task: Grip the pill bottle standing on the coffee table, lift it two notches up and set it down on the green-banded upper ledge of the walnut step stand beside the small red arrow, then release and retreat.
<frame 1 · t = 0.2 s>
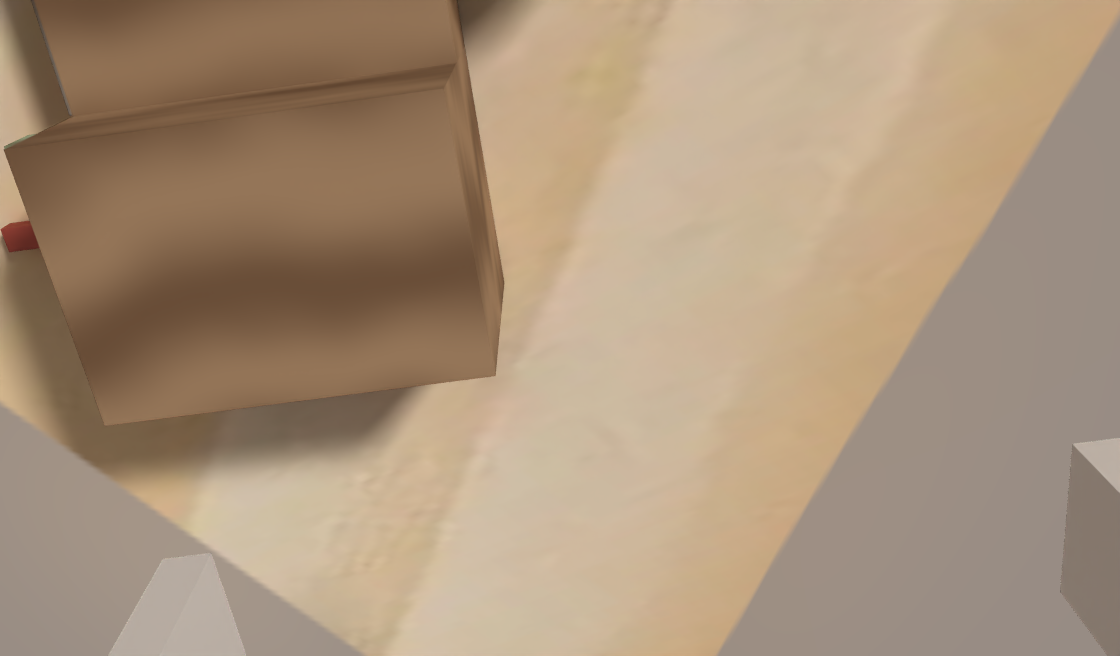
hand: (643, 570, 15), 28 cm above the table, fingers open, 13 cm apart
step stand: (289, 71, 39), on the table
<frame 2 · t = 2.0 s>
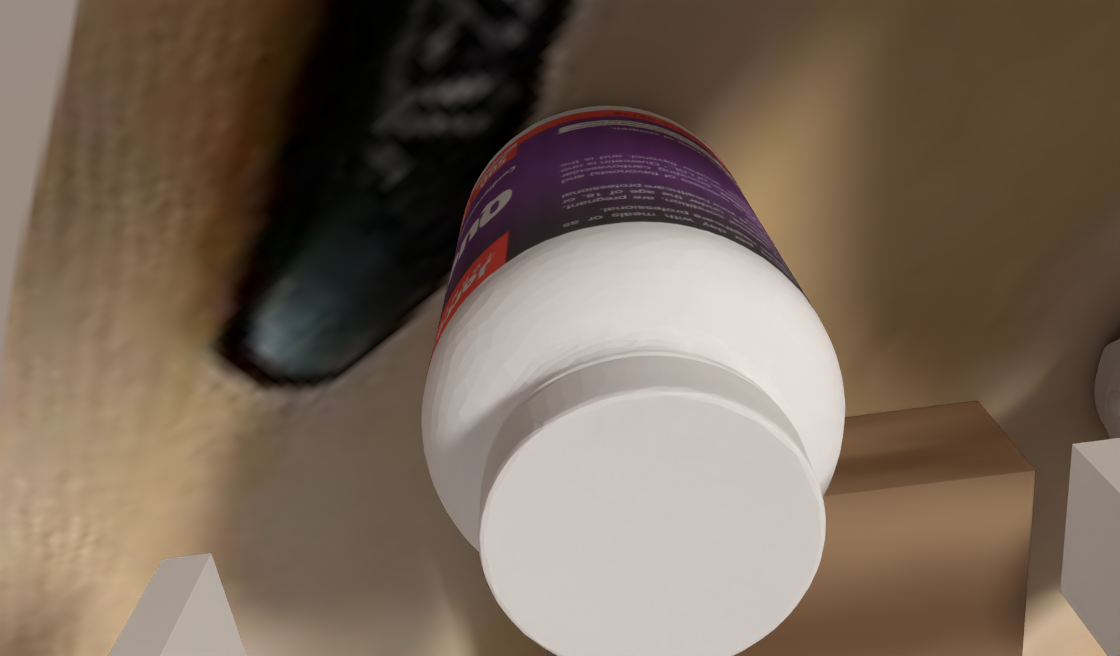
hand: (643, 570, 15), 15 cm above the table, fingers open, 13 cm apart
pill bottle: (601, 235, 29), on the table
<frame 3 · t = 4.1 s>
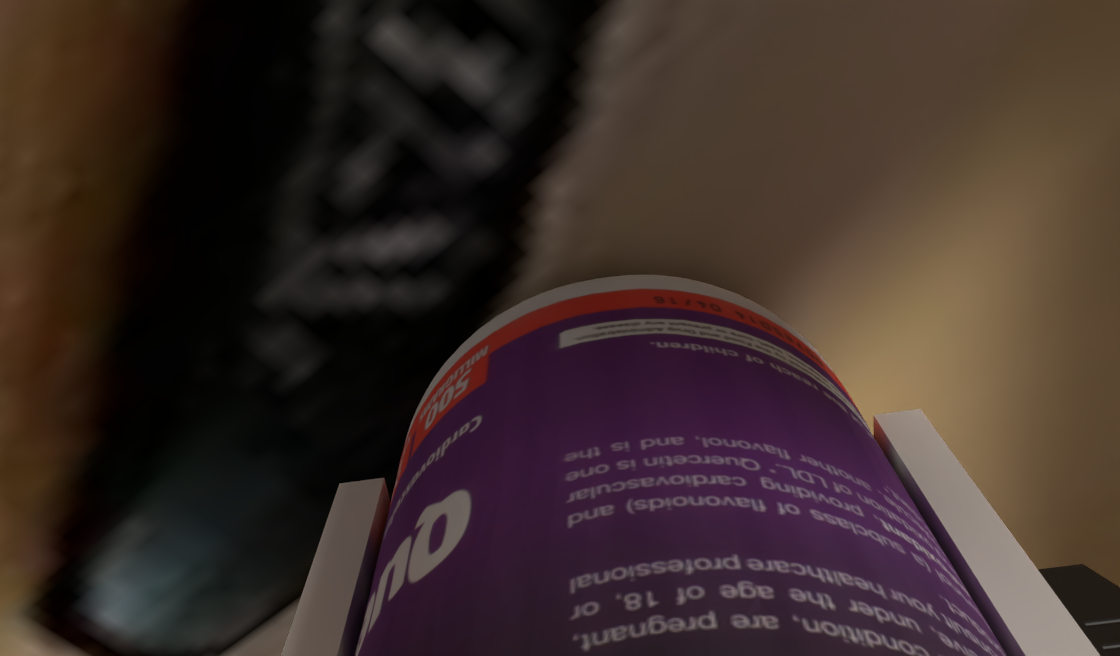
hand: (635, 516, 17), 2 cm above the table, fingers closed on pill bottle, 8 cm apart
pill bottle: (625, 455, 18), on the table, touching gripper
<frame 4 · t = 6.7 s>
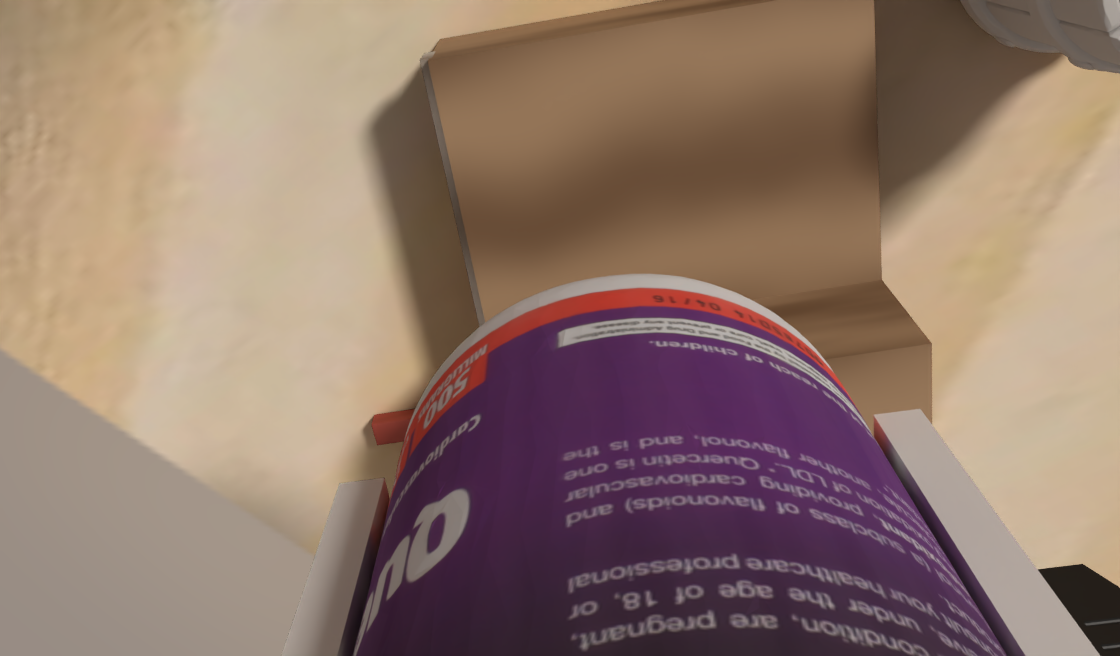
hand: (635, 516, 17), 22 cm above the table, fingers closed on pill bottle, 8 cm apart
step stand: (670, 267, 39), on the table
pill bottle: (625, 454, 18), point 20 cm above the table, touching gripper
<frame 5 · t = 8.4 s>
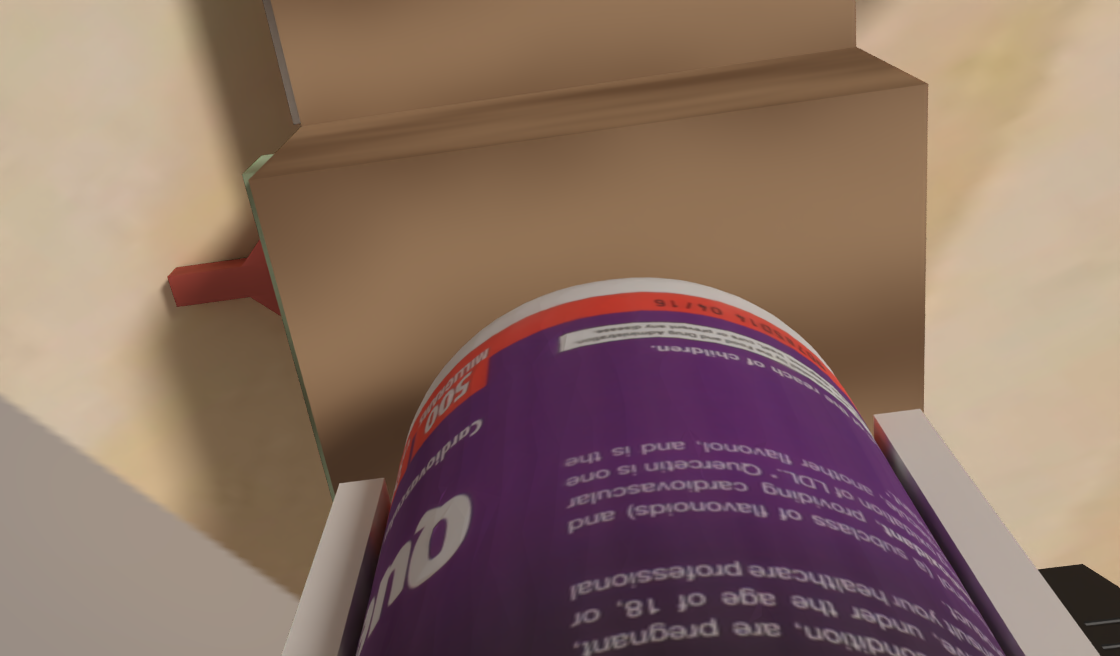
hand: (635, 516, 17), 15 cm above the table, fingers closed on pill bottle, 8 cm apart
step stand: (571, 61, 28), on the table
pill bottle: (626, 458, 18), point 13 cm above the table, touching gripper
when the fingers open (12 cm above the table, at t = 9.8 s): pill bottle drops 1 cm, resting on step stand.
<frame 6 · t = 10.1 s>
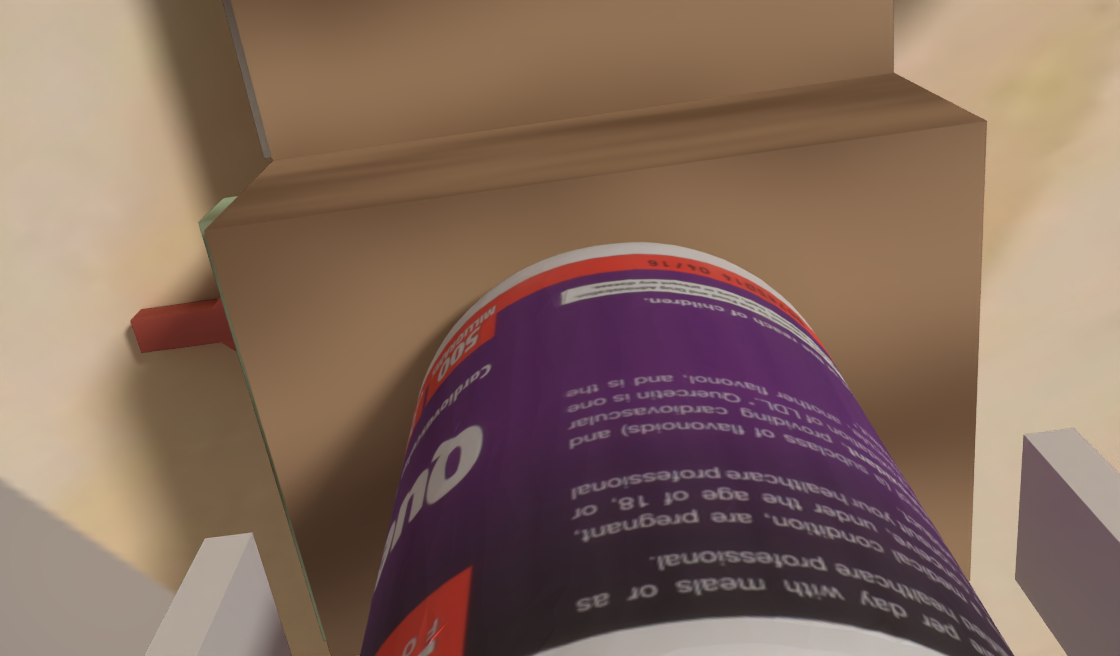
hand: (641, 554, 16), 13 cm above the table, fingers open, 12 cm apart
step stand: (573, 85, 26), on the table
pill bottle: (622, 414, 20), point 9 cm above the table, touching step stand
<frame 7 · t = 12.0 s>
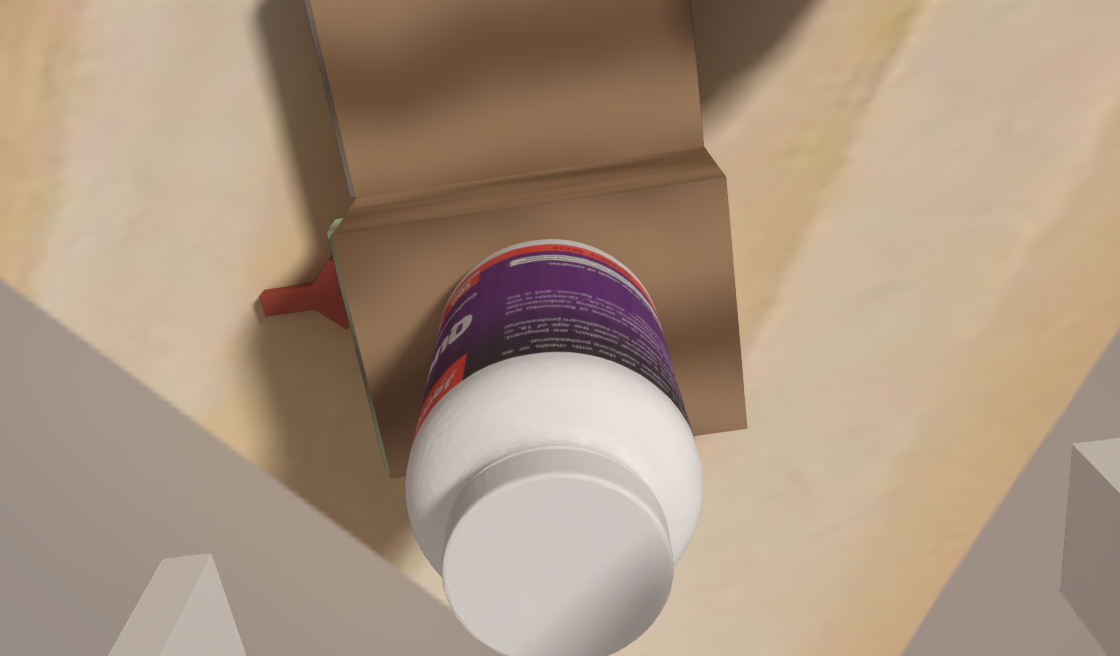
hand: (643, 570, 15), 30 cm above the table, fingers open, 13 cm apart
step stand: (529, 151, 43), on the table
pill bottle: (549, 333, 37), point 9 cm above the table, touching step stand
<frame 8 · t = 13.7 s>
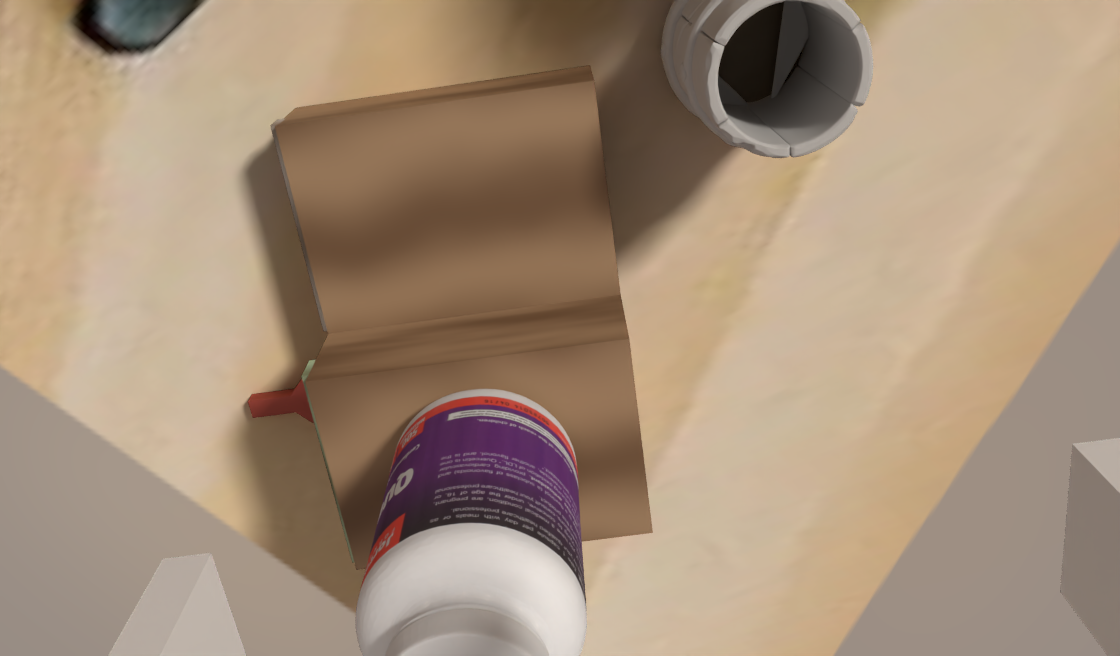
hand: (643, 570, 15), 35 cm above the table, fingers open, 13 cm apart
step stand: (478, 283, 50), on the table
pill bottle: (487, 457, 44), point 9 cm above the table, touching step stand
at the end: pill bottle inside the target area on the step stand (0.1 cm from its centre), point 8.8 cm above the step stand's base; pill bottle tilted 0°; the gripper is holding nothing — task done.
